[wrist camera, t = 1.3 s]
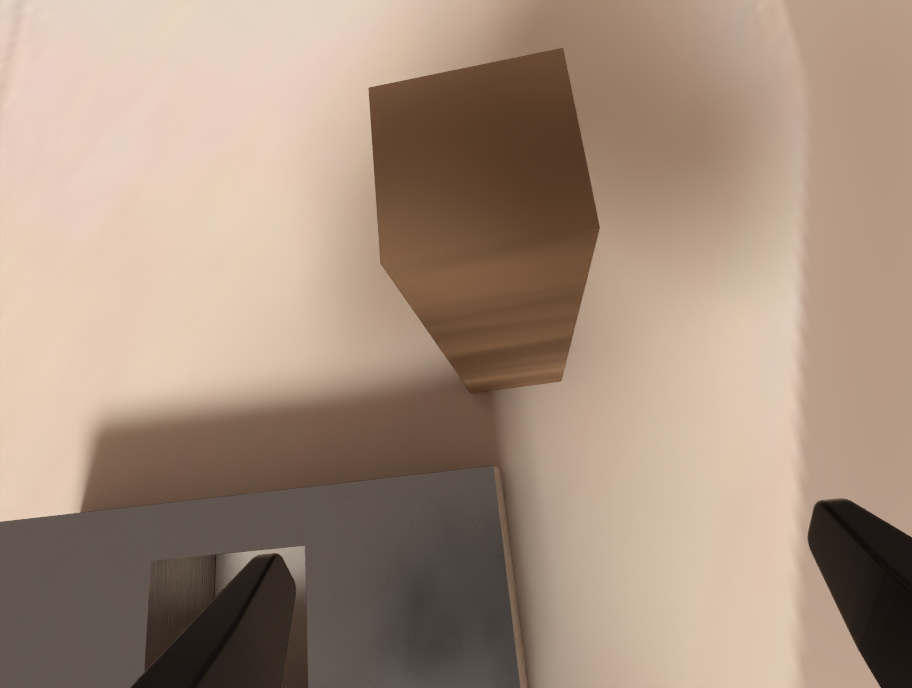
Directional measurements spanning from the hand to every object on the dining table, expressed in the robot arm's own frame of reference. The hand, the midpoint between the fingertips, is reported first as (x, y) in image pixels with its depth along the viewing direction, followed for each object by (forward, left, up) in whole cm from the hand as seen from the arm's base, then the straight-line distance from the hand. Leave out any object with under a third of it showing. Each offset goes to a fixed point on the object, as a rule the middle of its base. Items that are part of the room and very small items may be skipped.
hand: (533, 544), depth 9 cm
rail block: (+1, +12, -13) cm, 17 cm away
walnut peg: (+7, -2, -13) cm, 15 cm away
